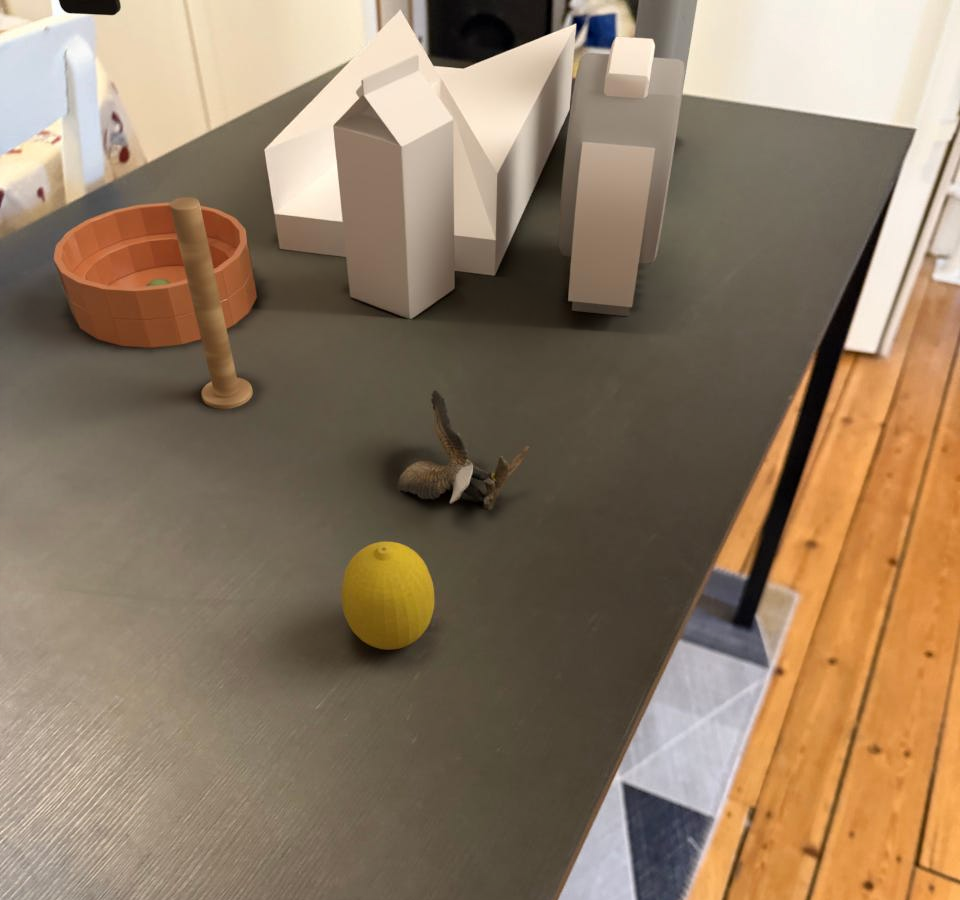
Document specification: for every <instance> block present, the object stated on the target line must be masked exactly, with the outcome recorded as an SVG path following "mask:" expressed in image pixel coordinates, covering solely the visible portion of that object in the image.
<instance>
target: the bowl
mask: <svg viewBox="0 0 960 900" xmlns="http://www.w3.org/2000/svg"><path fill="white" fill-rule="evenodd" d="M170 203H171V202H157V203H145V204H144V203H143V204H136V205H132V206H127V207H123V208H118V209H113V210H110V211H107V212H104V213H101V214H99V215H96V216H93V217H91V218H88V219H86V220H84V221H82V222H81V223H79V224H77V225H76V226H74V227H72V228H71V229H69V230H67V232H66V233H65V234H64V235H63V237H61V239H60V240H59V241H58V242H57V243H56V245H55V249H54V253H53V262H54V265H55V268H56V271H57V274H58V277H59V281H60V282H61V285H62V288H63V291H64V294H65V297H66V300H67V302H68V305H69V308H70V311H71V315H72V316H73V318H74V320H75V322H76V324H77V325H78V327H79V329H81V330H82V331H84V332H85V333H86V334H88V335H90V336H91V337H93V338H95V339H96V340H99V341H103V342H105V343H109V344H113V345H117V346H119V347H132V348H145V349H147V348H148V349H153V348H162V347H173V346H181V345H185V344H189V343H193V342H197V341H200V340H201V336H200V331H199V327H198V323H197V319H196V315H195V310H194V306H193V302H192V298H191V294H190V289H189V285H188V281H187V277H186V273H185V269H184V264H183V260H182V256H181V252H180V248H179V243H178V239H177V235H176V231H175V227H174V222H173V218H172V214H171V210H170ZM200 207H201V212H202V217H203V221H204V226H205V231H206V235H207V240H208V245H209V249H210V254H211V259H212V263H213V268H214V273H215V277H216V282H217V287H218V292H219V296H220V301H221V306H222V310H223V315H224V320H225V324H226V329H227V330H228V329H229V328H231V327H234V326H235V325H236V324H237V323H239V322H240V321H241V320H242V319H243V318H245V316H246V315H248V314H249V313H250V312H251V310H252V308H253V305H254V304H255V302H256V300H257V298H258V294H257V286H256V285H257V284H256V281H255V275H254V274H255V273H254V268H253V262H252V257H251V252H250V251H251V250H250V247H249V241H248V240H249V239H248V235H247V230H246V228H245V226H243V225H242V224H241V222H240V221H239V220H238V219H237V218H236V217H234V216H232V215H230V214H228V213H226V212H224V211H222V210H220V209H217V208H213V207H209V206H204V205H200ZM154 279H164V280H167V281H169V282H171V283H170V284H166V285H157V286H146V285H147V284H148V283H149V282H150V281H152V280H154ZM145 286H146V287H145Z"/></svg>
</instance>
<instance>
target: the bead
mask: <svg viewBox="0 0 960 900" xmlns="http://www.w3.org/2000/svg"><path fill="white" fill-rule="evenodd" d="M170 283H171V282H169V281H167V280H164V279H154V280H152V281H150V282H149V283H148V284H147V285H146V286H157V285H166V284H170ZM146 286H145V287H146Z"/></svg>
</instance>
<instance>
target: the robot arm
mask: <svg viewBox="0 0 960 900" xmlns="http://www.w3.org/2000/svg"><path fill="white" fill-rule="evenodd" d="M58 3H59V6H60V8H61V10H63V12H65V13H66V14H73V15H75V14H76V15H95V16H115V15H117V14H118V13H119V12H120V11H121V8H122V7H121V5H122V4H121V0H58Z"/></svg>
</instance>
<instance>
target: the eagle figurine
mask: <svg viewBox="0 0 960 900" xmlns="http://www.w3.org/2000/svg"><path fill="white" fill-rule="evenodd" d="M430 402H431V404H432V409H433V411H434V431H435V434H436V436H437V438H438V440H439V443H440V445H441V447H442V448H443V449H444V451H445V453H446V454H447V456H448V458H449V459H450V460H449V462H448V463H447V464H441V463H437V462H435V461H434V462H433V461H428V460H420V461H416V462H414V463H412V464H411V465H408V466H407V467H406V469H405V470H404V471H403V472H402V473H401V474H400V476H399V478H398V481H397V490H398V492H401V491H402V492H404V493H410V494H413V495H417V497H418V498H420V499H421V500H435V499H437V498H438V499H439V498H440V496H441V494H445V493H446V491H451V490H452V494H451V497H450V500H449V504H450V505H452V504H453V503H455V502H456V501H458V500H459V499H460V498H461V496H462V494H463V493H464V494H466V495H467V496H470V497H471V498H473V499H474V500H477V501H483V507H484V508H485V509H487V510H492V509H493V507H494V505H495V502H496V500H497V499H498V498H499V495H500V493H501V492H502V489H503V488H504V486H505V485H506V483H507V482H508V480H509V479H510V478H511V477H512V475H513V474H514V473H515V472H516V470H517V469H518V468H519V466H520V465H521V463H522V462H523V461H524V459H525V458H526V456H527V454H528V452H529V450H530V446H529V445H526V446H525V447H524V448H523V449H522V450H521V451H520V452H519V453H518V454H517V455H516V456H515V458H514V459H513V460H511V462H510V463H508V461H507V460H506V459H504V457H503V456H502V455H500V456H499V457H498V460H497V463H496V466H495V470H494V472H491V471H486V470H483V469H481V468H479V467H477V466H475V464H474V463H473V462H472V461H471V460H469V459H468V453H469V451H468V449H466V444H465V443H464V440H463V438H462V437H461V435H460V433H459V432H458V431H457V432H456V431H455V430H454V429H453V427H452V425H451V419H450V416H449V414H448V412H449V411H448V409H447V400H446V399H445V397H444V396H443V395H442V393H440V392H439V391H438V390H437V389H436V388H435V389H434V390H433V391H432V392H431V398H430ZM474 479H475V480H477V481H481V482H482V483H483V484H484V485H485V487H486V493H483V492H482V491H481V490H480V489H479V488H478V487H476V486H475V485H474V484H473V482H472V481H473V480H474Z"/></svg>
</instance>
